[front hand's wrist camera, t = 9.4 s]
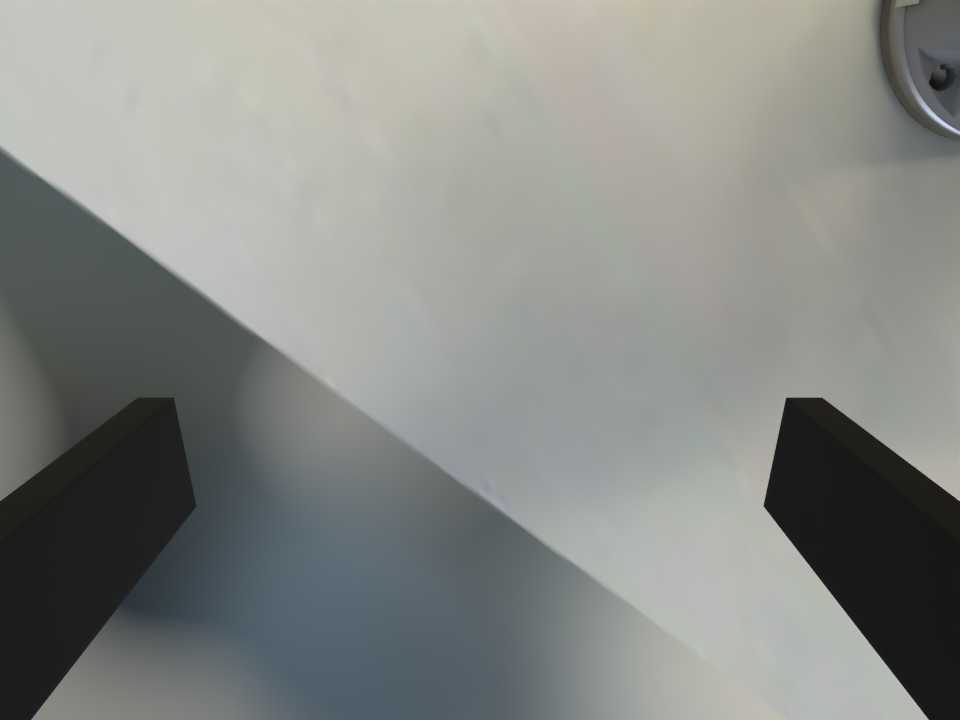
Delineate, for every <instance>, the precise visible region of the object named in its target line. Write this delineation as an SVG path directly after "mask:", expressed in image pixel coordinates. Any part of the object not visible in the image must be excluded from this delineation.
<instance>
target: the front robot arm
mask: <svg viewBox="0 0 960 720" xmlns="http://www.w3.org/2000/svg"><path fill="white" fill-rule="evenodd" d="M881 48H882V57H883V62H884V66H885V71H886V74H887V77H888V80H889V83H890V85H891V87H892V89H893V91H894V93H895V95H896V97H897V98H898V100H899V101H900V103H901V105H902V106H903V107H904V108H905V109H906V111H907V112H908V113H909V114H910V115H911V116H912V117H913V118H914V119H915V120H916V121H917V122H919V123H920V124H922V125H923V126H924V127H926V128H927V129H929V130H931V131H933V132H935V133H937V134H939V135H942V136H944V137H947V138H951V139H954V140H958V141H960V0H884V3H883V10H882V18H881ZM195 507H196V502H195V497H194V493H193V488H192V483H191V478H190V473H189V469H188V464H187V459H186V454H185V450H184V445H183V440H182V435H181V430H180V426H179V421H178V416H177V411H176V406H175V402H174V398H137V399H136V400H134V401H133V402H132V403H130V404H129V405H128V406H126V407H125V408H124V409H122V410H121V411H120V412H118V413H117V414H116V415H114V416H113V417H112V418H110V419H109V420H108V421H106V422H105V423H104V424H102V425H101V426H100V427H98V428H97V429H96V430H94V431H93V432H92V433H91V434H89V435H88V436H86V437H85V438H84V439H83V440H81V441H80V442H78V443H77V444H76V445H75V446H73V447H72V448H71V449H69V450H68V451H67V452H65V453H64V454H63V455H61V456H60V457H59V458H57V459H56V460H55V461H53V462H52V463H51V464H49V465H48V466H47V467H45V468H44V469H43V470H41V471H40V472H39V473H37V474H36V475H35V476H33V477H32V478H31V479H29V480H28V481H27V482H25V483H24V484H23V485H21V486H20V487H19V488H17V489H16V490H15V491H13V492H12V493H11V494H9V495H8V496H7V497H5V498H4V499H3V500H1V501H0V720H31V719H32V718H33V716H34V715H35V714H36V713H37V711H38V710H39V709H40V707H41V706H42V705H43V703H44V702H45V701H46V700H47V698H48V697H49V696H50V695H51V693H52V692H53V691H54V689H55V688H56V687H57V686H58V684H59V683H60V682H61V680H62V679H63V678H64V676H65V675H66V674H67V673H68V671H69V670H70V669H71V667H72V666H73V665H74V664H75V662H76V661H77V660H78V658H79V657H80V656H81V655H82V653H83V652H84V651H85V649H86V648H87V647H88V645H89V644H90V643H91V642H92V640H93V639H94V638H95V636H96V635H97V634H98V633H99V631H100V630H101V629H102V627H103V626H104V625H105V624H106V622H107V621H108V620H109V618H110V617H111V616H112V614H113V613H114V612H115V611H116V609H117V608H118V607H119V605H120V604H121V603H122V602H123V600H124V599H125V598H126V596H127V595H128V594H129V593H130V591H131V590H132V589H133V587H134V586H135V585H136V584H137V582H138V581H139V580H140V578H141V577H142V576H143V574H144V573H145V572H146V571H147V569H148V568H149V567H150V565H151V564H152V563H153V562H154V560H155V559H156V558H157V556H158V555H159V554H160V553H161V551H162V550H163V549H164V547H165V546H166V545H167V543H168V542H169V541H170V540H171V538H172V537H173V536H174V534H175V533H176V532H177V531H178V529H179V528H180V527H181V525H182V524H183V523H184V522H185V520H186V519H187V518H188V516H189V515H190V514H191V512H192V511H193V510H194V509H195ZM764 507H765V509H766V510H767V511H768V512H769V514H770V515H771V516H772V518H773V519H774V520H775V522H776V523H777V524H778V525H779V527H780V528H781V529H782V531H783V532H784V533H785V534H786V536H787V537H788V538H789V540H790V541H791V542H792V543H793V545H794V546H795V547H796V549H797V550H798V551H799V553H800V554H801V555H802V556H803V558H804V559H805V560H806V562H807V563H808V564H809V565H810V567H811V568H812V569H813V571H814V572H815V573H816V574H817V576H818V577H819V578H820V580H821V581H822V582H823V584H824V585H825V586H826V587H827V589H828V590H829V591H830V593H831V594H832V595H833V596H834V598H835V599H836V600H837V602H838V603H839V604H840V605H841V607H842V608H843V609H844V611H845V612H846V613H847V614H848V616H849V617H850V618H851V620H852V621H853V622H854V624H855V625H856V626H857V627H858V629H859V630H860V631H861V633H862V634H863V635H864V636H865V638H866V639H867V640H868V642H869V643H870V644H871V645H872V647H873V648H874V649H875V651H876V652H877V653H878V655H879V656H880V657H881V658H882V660H883V661H884V662H885V664H886V665H887V666H888V667H889V669H890V670H891V671H892V673H893V674H894V675H895V676H896V678H897V679H898V680H899V682H900V683H901V684H902V686H903V687H904V688H905V689H906V691H907V692H908V693H909V695H910V696H911V697H912V698H913V700H914V701H915V702H916V704H917V705H918V706H919V707H920V709H921V710H922V711H923V713H924V714H925V715H926V716H927V718H928V719H929V720H960V501H958V500H957V499H956V498H955V497H953V496H952V495H951V494H949V493H948V492H947V491H945V490H944V489H943V488H941V487H940V486H939V485H937V484H936V483H935V482H933V481H932V480H931V479H929V478H928V477H927V476H925V475H924V474H923V473H921V472H920V471H919V470H917V469H916V468H915V467H913V466H912V465H911V464H909V463H908V462H907V461H905V460H904V459H903V458H901V457H900V456H899V455H897V454H896V453H895V452H893V451H892V450H891V449H889V448H888V447H887V446H885V445H884V444H883V443H882V442H880V441H879V440H878V439H876V438H875V437H874V436H872V435H871V434H870V433H868V432H867V431H866V430H864V429H863V428H862V427H860V426H859V425H858V424H856V423H855V422H854V421H852V420H851V419H850V418H848V417H847V416H846V415H844V414H843V413H842V412H840V411H839V410H838V409H836V408H835V407H834V406H832V405H831V404H830V403H828V402H827V401H826V400H824V399H823V398H786V402H785V406H784V411H783V416H782V421H781V426H780V430H779V435H778V440H777V445H776V450H775V454H774V459H773V464H772V469H771V473H770V478H769V483H768V488H767V493H766V497H765V502H764Z"/></svg>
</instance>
